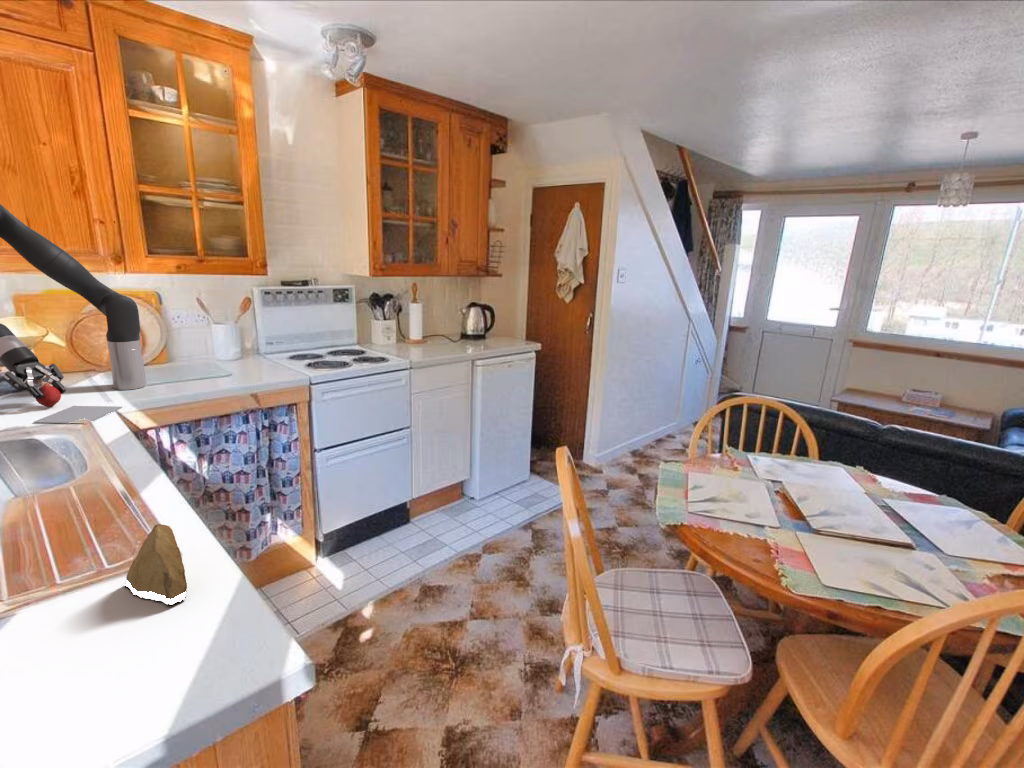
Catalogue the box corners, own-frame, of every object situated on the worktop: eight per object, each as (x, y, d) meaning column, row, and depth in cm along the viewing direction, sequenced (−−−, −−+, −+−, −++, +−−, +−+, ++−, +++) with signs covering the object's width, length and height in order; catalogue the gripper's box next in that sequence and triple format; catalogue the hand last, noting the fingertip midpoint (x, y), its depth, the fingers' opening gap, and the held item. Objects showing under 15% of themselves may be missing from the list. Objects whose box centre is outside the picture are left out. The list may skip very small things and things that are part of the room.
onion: (47, 411, 151) (42, 385, 149) (32, 409, 152) (27, 383, 150) (67, 406, 157) (63, 381, 155) (52, 404, 158) (48, 379, 156)
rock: (207, 585, 75) (203, 545, 83) (160, 559, 70) (160, 518, 78) (142, 638, 73) (144, 592, 80) (89, 615, 68) (96, 568, 75)
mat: (73, 406, 156) (73, 405, 156) (122, 407, 158) (122, 406, 158) (32, 423, 141) (32, 422, 141) (86, 424, 143) (86, 422, 142)
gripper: (-9, 349, 144) (32, 393, 145) (44, 342, 158) (82, 382, 159) (-20, 366, 146) (21, 408, 147) (33, 357, 160) (70, 396, 161)
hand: (52, 394), depth 153 cm, fingers closed on onion, 6 cm apart
